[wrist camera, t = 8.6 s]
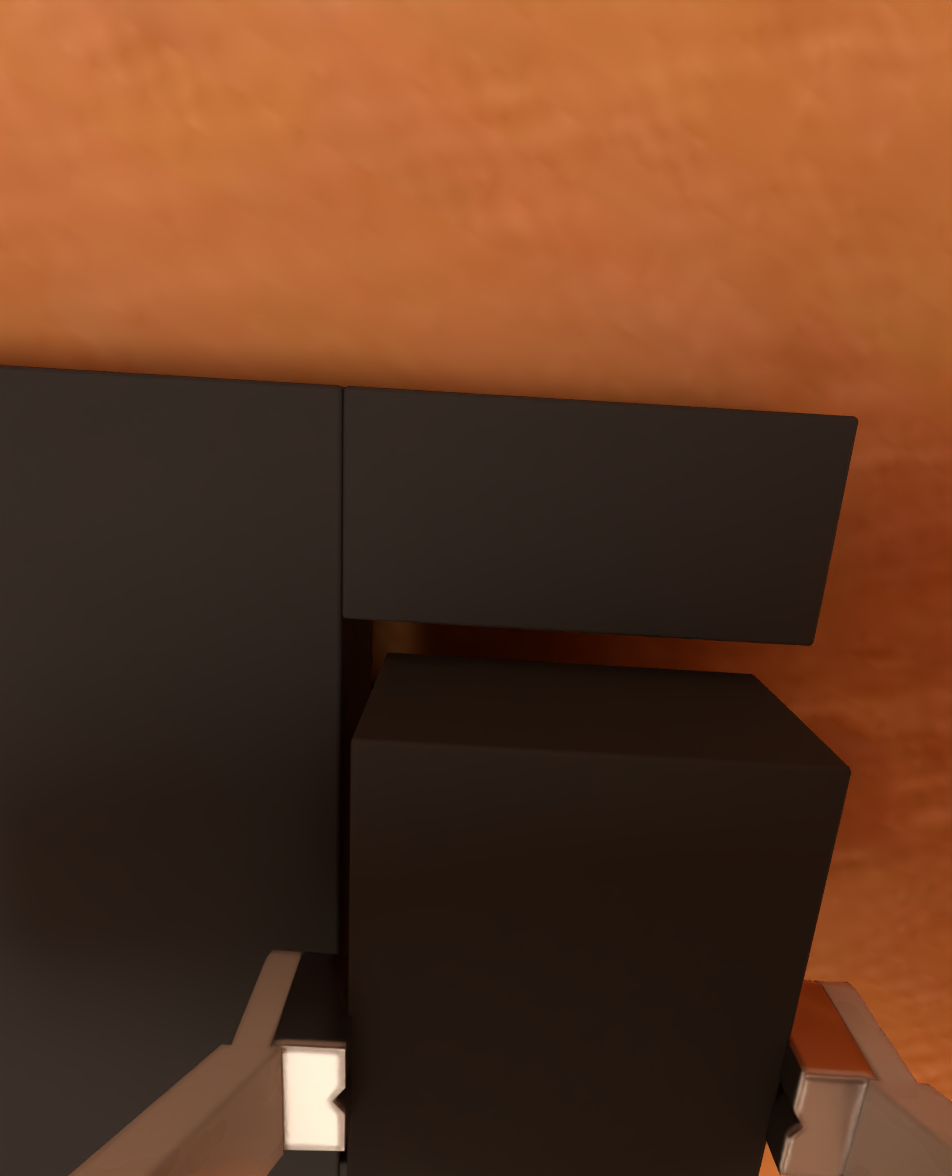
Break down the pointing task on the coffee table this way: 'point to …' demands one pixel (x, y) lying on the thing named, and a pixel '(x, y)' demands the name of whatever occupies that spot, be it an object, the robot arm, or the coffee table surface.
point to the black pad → (577, 916)
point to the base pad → (298, 664)
